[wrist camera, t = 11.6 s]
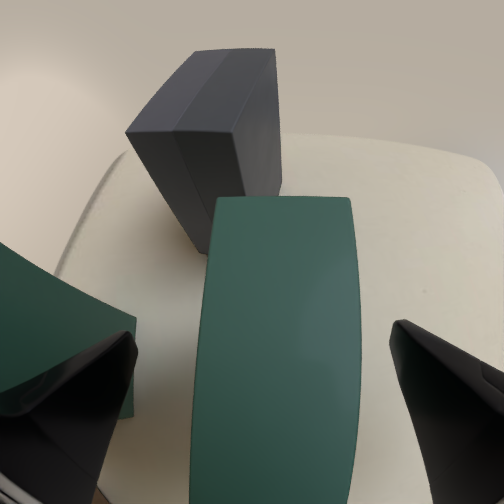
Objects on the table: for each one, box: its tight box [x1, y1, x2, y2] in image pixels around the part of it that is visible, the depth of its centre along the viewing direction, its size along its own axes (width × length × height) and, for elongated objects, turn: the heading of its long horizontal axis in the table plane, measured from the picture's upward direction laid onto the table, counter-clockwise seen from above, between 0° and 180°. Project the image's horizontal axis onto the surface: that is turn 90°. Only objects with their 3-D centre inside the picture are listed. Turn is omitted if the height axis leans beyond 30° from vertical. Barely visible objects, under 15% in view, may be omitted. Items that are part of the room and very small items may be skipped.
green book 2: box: [189, 196, 362, 504], centre depth 9 cm, size 7×2×13 cm, turn 177°
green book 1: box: [0, 242, 136, 420], centre depth 10 cm, size 7×2×13 cm, turn 1°
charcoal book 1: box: [125, 49, 232, 254], centre depth 15 cm, size 7×2×11 cm, turn 166°
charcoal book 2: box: [173, 48, 282, 222], centre depth 14 cm, size 7×2×11 cm, turn 166°
